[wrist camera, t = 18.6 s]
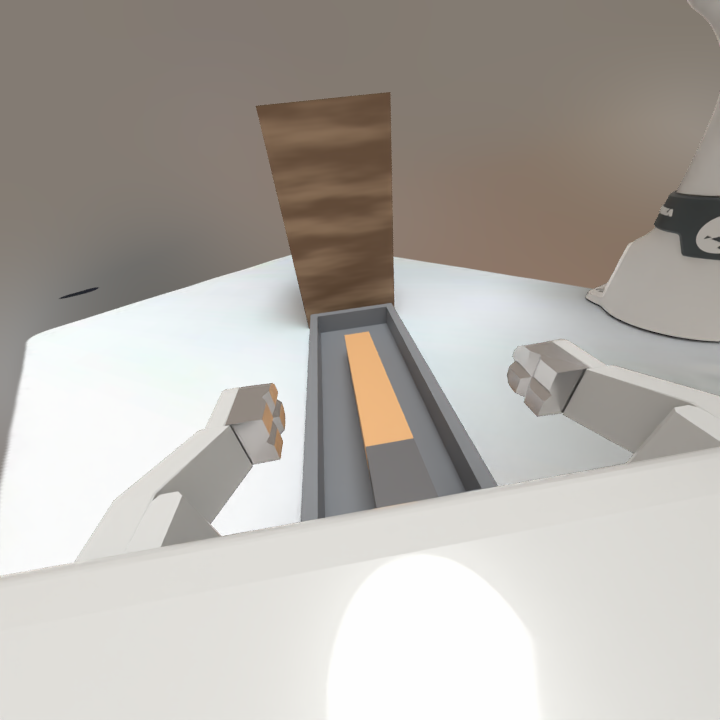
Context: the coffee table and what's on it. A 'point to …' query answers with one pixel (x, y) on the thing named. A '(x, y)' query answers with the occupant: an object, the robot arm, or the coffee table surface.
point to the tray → (342, 426)
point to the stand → (335, 197)
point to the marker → (385, 430)
